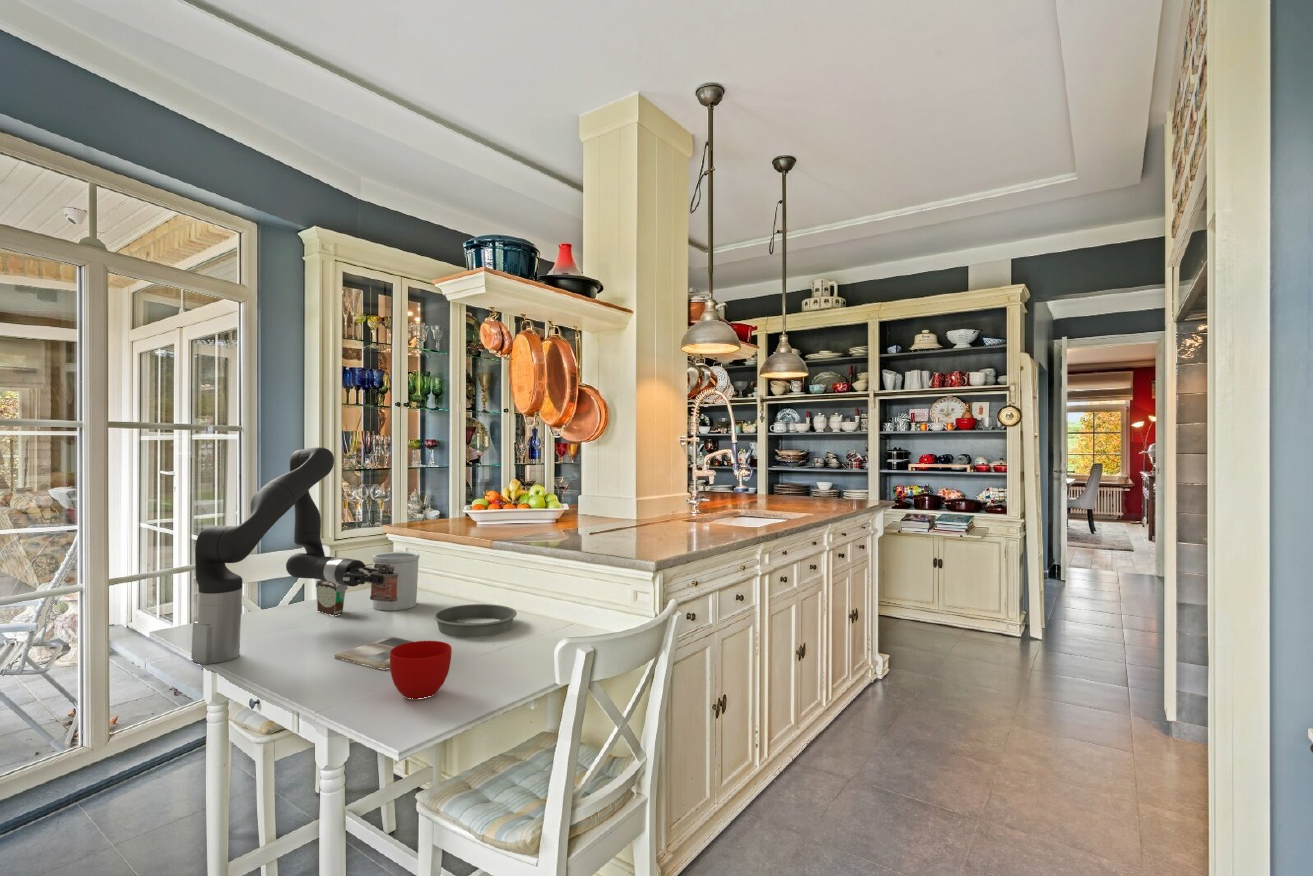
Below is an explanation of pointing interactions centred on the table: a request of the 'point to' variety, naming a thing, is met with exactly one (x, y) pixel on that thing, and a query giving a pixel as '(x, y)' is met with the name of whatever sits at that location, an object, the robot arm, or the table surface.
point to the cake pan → (451, 615)
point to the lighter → (385, 584)
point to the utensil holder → (400, 579)
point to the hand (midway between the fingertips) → (388, 578)
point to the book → (373, 653)
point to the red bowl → (420, 667)
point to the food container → (330, 597)
